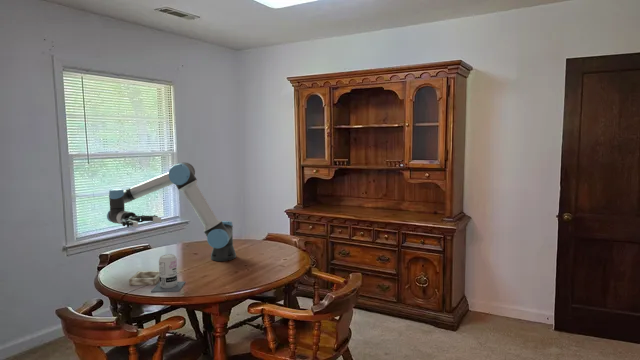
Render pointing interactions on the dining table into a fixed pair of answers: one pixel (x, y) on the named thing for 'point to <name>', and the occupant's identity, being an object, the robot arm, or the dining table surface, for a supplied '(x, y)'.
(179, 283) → the slate mat
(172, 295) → the dining table surface
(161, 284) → the supplement can
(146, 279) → the holder collar
